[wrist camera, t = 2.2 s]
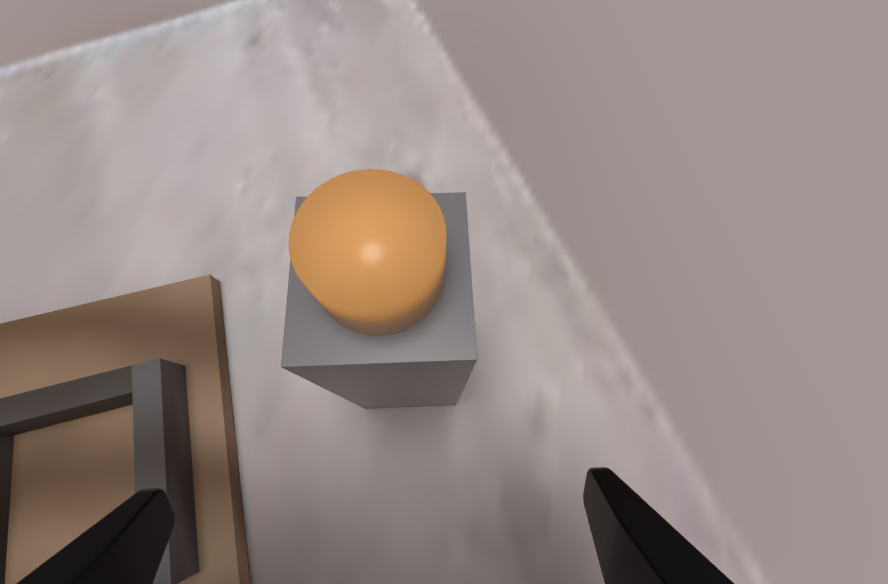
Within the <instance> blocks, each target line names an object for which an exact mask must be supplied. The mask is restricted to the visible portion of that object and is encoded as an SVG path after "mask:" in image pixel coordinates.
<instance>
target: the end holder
mask: <svg viewBox="0 0 888 584" xmlns="http://www.w3.org/2000/svg"><path fill="white" fill-rule="evenodd" d="M150 488H162V489H163V490H165V492H166V494H167V496H168V498H169V501H170V503H171V505H172V508H173V510H174V513H175V524H174V528H173V530H172V533H171V536H170V538H169V541H168V544H167V547H166V549H165V552H164V555H163V558H162V560H161V563H160V566H159V568H158V571H157V574H156V577H155V579H154V582H153V584H250V576H249V567H248V557H247V547H246V537H245V528H244V518H243V508H242V498H241V488H240V479H239V469H238V459H237V449H236V439H235V430H234V420H233V410H232V400H231V390H230V381H229V371H228V361H227V351H226V342H225V332H224V322H223V312H222V302H221V293H220V283H219V281H218V280H217V279H215V278H214V277H213V276H211V275H206V276H202V277H198V278H194V279H189V280H185V281H181V282H177V283H172V284H168V285H164V286H160V287H155V288H151V289H147V290H143V291H138V292H134V293H130V294H125V295H121V296H117V297H113V298H108V299H104V300H100V301H96V302H91V303H87V304H83V305H79V306H74V307H70V308H66V309H62V310H57V311H53V312H49V313H44V314H40V315H36V316H32V317H27V318H23V319H19V320H15V321H10V322H6V323H2V324H0V584H16V583H17V582H19V581H20V580H21V579H23V578H24V577H25V576H27V575H28V574H29V573H31V572H32V571H33V570H35V569H36V568H37V567H39V566H40V565H41V564H43V563H44V562H45V561H47V560H48V559H49V558H50V557H52V556H53V555H54V554H56V553H57V552H58V551H60V550H61V549H62V548H64V547H65V546H66V545H68V544H69V543H70V542H72V541H73V540H74V539H76V538H77V537H78V536H80V535H81V534H82V533H83V532H85V531H86V530H87V529H89V528H90V527H91V526H93V525H94V524H95V523H97V522H98V521H99V520H101V519H102V518H103V517H105V516H106V515H107V514H109V513H110V512H111V511H113V510H114V509H115V508H116V507H118V506H119V505H120V504H122V503H123V502H124V501H126V500H127V499H128V498H130V497H131V496H132V495H134V494H135V493H136V492H138V491H140V490H142V489H150Z"/></svg>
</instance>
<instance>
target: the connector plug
mask: <svg viewBox="0 0 888 584" xmlns="http://www.w3.org/2000/svg"><path fill="white" fill-rule="evenodd" d="M289 253H290V258H291V260H290V271H289V282H288V293H287V304H286V316H285V327H284V338H283V349H282V360H281V367H282V368H284V369H286V370H288V371H290V372H292V373H294V374H296V375H298V376H300V377H302V378H304V379H306V380H308V381H310V382H312V383H314V384H316V385H318V386H320V387H322V388H324V389H326V390H329V391H331V392H333V393H335V394H337V395H339V396H341V397H343V398H345V399H347V400H349V401H351V402H353V403H355V404H357V405H359V406H361V407H363V408H365V409H368V408H393V407H417V406H441V405H456V403H457V401H458V399H459V397H460V395H461V392H462V390H463V388H464V386H465V384H466V382H467V380H468V378H469V375H470V373H471V371H472V369H473V367H474V365H475V363H476V361H477V352H476V337H475V323H474V308H473V293H472V279H471V264H470V249H469V234H468V220H467V205H466V192H464V193H429V192H428V191H427V190H426V189H425V188H424V187H423V186H421V185H420V184H418V183H417V182H416V181H414V180H412V179H410V178H408V177H406V176H404V175H401V174H399V173H395V172H391V171H387V170H379V169H366V170H357V171H352V172H348V173H345V174H341V175H339V176H337V177H334V178H332V179H330V180H329V181H327V182H325V183H323V184H322V185H321V186H319V187H318V188H316V189H315V190H314V191H313V192H312V193H311V194H310V195H309V196H308V197H296V204H295V216H294V219H293V222H292V225H291V228H290V234H289Z"/></svg>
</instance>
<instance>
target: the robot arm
mask: <svg viewBox="0 0 888 584" xmlns="http://www.w3.org/2000/svg"><path fill="white" fill-rule="evenodd" d="M583 500H584V506H585V510H586V514H587V517H588V521H589V525H590V529H591V533H592V537H593V540H594V544H595V548H596V552H597V556H598V559H599V563H600V567H601V571H602V574H603V578H604V581H605V584H734V583H733V582H732V581H731V580H730V579H729V578H727V577H726V576H725V575H724V574H723V573H722V572H721V571H720V570H719V569H718V568H717V567H716V566H714V565H713V564H712V563H711V562H710V561H709V560H708V559H707V558H706V557H705V556H704V555H703V554H701V553H700V552H699V551H698V550H697V549H696V548H695V547H694V546H693V545H692V544H691V543H690V542H688V541H687V540H686V539H685V538H684V537H683V536H682V535H681V534H680V533H679V532H678V531H677V530H675V529H674V528H673V527H672V526H671V525H670V524H669V523H668V522H667V521H666V520H665V519H664V518H662V517H661V516H660V515H659V514H658V513H657V512H656V511H655V510H654V509H653V508H652V507H651V506H649V505H648V504H647V503H646V502H645V501H644V500H643V499H642V498H641V497H640V496H639V495H638V494H636V493H635V492H634V491H633V490H632V489H631V488H630V487H629V486H628V485H627V484H626V483H625V482H623V481H622V480H621V479H620V478H619V477H618V476H617V475H616V474H615V473H614V472H613V471H612V470H610V469H609V468H606V467H599V468H590V469H589V470H588V472H587V476H586V482H585V488H584V493H583ZM174 524H175V513H174V510H173V508H172V505H171V503H170V501H169V498H168V496H167V494H166V492H165V490H163V489H162V488H150V489H142V490H140V491H138V492H136V493H135V494H134V495H132V496H131V497H130V498H128V499H127V500H126V501H124V502H123V503H122V504H120V505H119V506H118V507H116V508H115V509H114V510H113V511H111V512H110V513H109V514H107V515H106V516H105V517H103V518H102V519H101V520H99V521H98V522H97V523H95V524H94V525H93V526H91V527H90V528H89V529H87V530H86V531H85V532H83V533H82V534H81V535H80V536H78V537H77V538H76V539H74V540H73V541H72V542H70V543H69V544H68V545H66V546H65V547H64V548H62V549H61V550H60V551H58V552H57V553H56V554H54V555H53V556H52V557H50V558H49V559H48V560H47V561H45V562H44V563H43V564H41V565H40V566H39V567H37V568H36V569H35V570H33V571H32V572H31V573H29V574H28V575H27V576H25V577H24V578H23V579H21V580H20V581H19V582H17V583H16V584H153V582H154V579H155V577H156V574H157V571H158V568H159V566H160V563H161V560H162V558H163V555H164V552H165V549H166V547H167V544H168V541H169V538H170V536H171V533H172V530H173V528H174Z"/></svg>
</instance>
